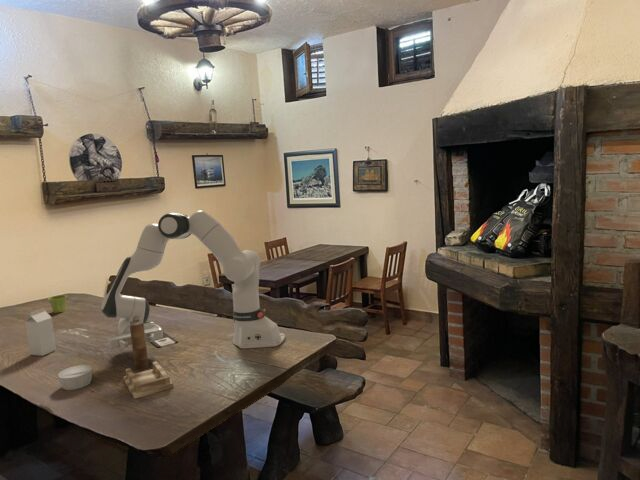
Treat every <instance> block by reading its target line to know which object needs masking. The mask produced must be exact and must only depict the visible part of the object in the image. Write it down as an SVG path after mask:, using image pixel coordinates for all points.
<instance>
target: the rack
mask: <svg viewBox="0 0 640 480" xmlns="http://www.w3.org/2000/svg"><path fill="white" fill-rule="evenodd" d="M125 373H126V374H125V376H123V381H124V383H125V385H126V386H127V389H128V391H129V392H130V394H131V395H132V397H133V399H138V398H141V397H146V396H149V395H152V394H156V393H159V392H163V391H166V390H169V389H173V388H174V387H175V385H174V382H173V381H172V380H171V378H170V376H169V375H168V374H167V372H166V371H165V370H164V368H163V367H162V366H161V365H160V364H159V362H158V361H153V362H152V369H147V370H144V371H140V372H136V373H134V372H133V371H132V369H131V368H130V367H129V368H126V369H125Z"/></svg>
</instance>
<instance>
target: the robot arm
mask: <svg viewBox="0 0 640 480" xmlns="http://www.w3.org/2000/svg"><path fill="white" fill-rule="evenodd" d="M191 235H192V236H195V237H196V238H197V239H198V240H199V242H201V244H203V246H205V247H206V248H207V250H208V251H210V252H211V253H212V254H213V257H215V259H216V260H217V261H218V263H219V265H220V266H221V268H222V270H223V273H224V276H225V277H226V278H227V279H228V280H229V281H231V282H234V283H233V289H232V305H233V310H232V318H233V319H232V320H233V323H234V332H233V339H232V343H233V345H235V346H237V347H238V348H239V349H255V348H256V349H257V348H259V349H260V348H270V347H271V348H272V347H273V348H274V347H277V346H279V345H282V343H283V342H284V341H285V339H286V335H285V333H281V332H280V329H279V326H278V324H277V322H274V321H272V320H271V319H270V318H268V317H267V316H265V315H266V314H265V312H266V308H264V309H263V308H261V307H260V295H259V285H260V267H261V257H260V255H259V254H258V253H257V251H254V250H250V249H245V250H241V248H240V247H239V245H238V244H237V243H236V241H235V237H234V236H233V235H232V234H231V233H230V232H229V231H228V230H227V229H226V228H225V227H224V226H223V225H222V224H221V223H220V222H219V221H218V220H217V219H216V218H215V217H213V216H212V215H211V214H209V213H208V212H206V211H205V210H197V211H194V212H193V213H192V214H191V215H189V216H188V215H186V214H182V213H179V212H168V213H165V214H164V215H162V216H161V217H160V218H159V221H158V223H148V224H147V225H146V226H145V227H144V228H143V230H142V232H141V234H140V237H139V240H138V242H137V246H136V249H135V251H134V252H133V253H132V255H130V256H128V257H126V258H125V259H123V260H124V261H123V262H122V264H121V266H120V267H119V269H118V270H117V272H116V273H117V274H116V276H115V277H114V279H113V281H112V284H111V286H110V288H109V290H108V292H107V293H106V295H105V297H104V299H103V300H102V303H101V312H102V313H103V315H104V316H105V317H106V318H110V319H111V318H112V319H113V318H115V319H116V318H119V321H118V324H117V329H118V333H115V334H111V335H109V336H108V337H107V338H106V339H105V341H106V342H107V343H108V348H109V349H111V350H113V349H118V348H128V347H129V346H130V345H131V346H132V341H131V332H130V322H131V321H133V317H134V316H138V317H139V319H141V320H142V321H143V323H144V331H145V340H146V342H149V341H150V342H149V343H151V342H152V341H154V339H158V338H162V337H163V332H164V331H163V328H162V327H161V326H160V325H158V324H156V323H155V322H154V321H148V318H149V315H150V308H151V307H150V304H149V302H148V300H147V298H145V297H139V296H133V295H125V294H121V292H122V290H123V288H124V286H125V283H126V282H127V280H128V278H129V277H130V276H131V275H133V274H135V273H139V272H144V271H146V272H147V271H150V270H153V269H155V268H157V267H158V266H160V264H161V263H162V260H163V257H164V254H165V250H166V246H167V243H168V242H169V241H171V240H182V239H183V240H184V239H186V238H188V237H190V236H191Z"/></svg>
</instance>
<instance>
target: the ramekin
mask: <svg viewBox="0 0 640 480" xmlns="http://www.w3.org/2000/svg"><path fill="white" fill-rule="evenodd" d="M92 376H93V367H92V365H89V364H79V365H74V366H71V367H67V368H65V369H63V370H60V372H59V373H58V374H57V378H58V380H59V383H60V385H61V388H62V389H64V390H65V391H75V390H79V389H83V388H84V387H87V386H88V385H90V384H91V382H92V378H93V377H92Z"/></svg>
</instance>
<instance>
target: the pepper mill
mask: <svg viewBox="0 0 640 480" xmlns="http://www.w3.org/2000/svg"><path fill="white" fill-rule="evenodd" d="M130 332H131V341H132V345H131V350H132V354H133V355H132V356H133V364H134V369H135V371H137V370H139V371H141V370H144V369H145V370H146V369H147V368H149V358H148V349H147V341H146V340H145V331H144V323H143V321H142V320H141V319H139V317H138V316H134V317H133V321H131V322H130Z"/></svg>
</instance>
